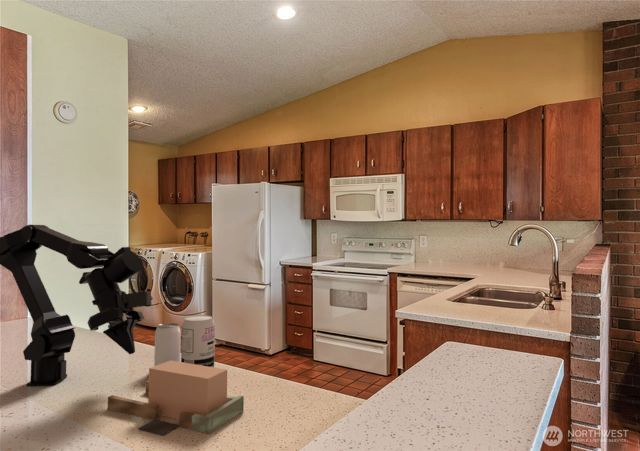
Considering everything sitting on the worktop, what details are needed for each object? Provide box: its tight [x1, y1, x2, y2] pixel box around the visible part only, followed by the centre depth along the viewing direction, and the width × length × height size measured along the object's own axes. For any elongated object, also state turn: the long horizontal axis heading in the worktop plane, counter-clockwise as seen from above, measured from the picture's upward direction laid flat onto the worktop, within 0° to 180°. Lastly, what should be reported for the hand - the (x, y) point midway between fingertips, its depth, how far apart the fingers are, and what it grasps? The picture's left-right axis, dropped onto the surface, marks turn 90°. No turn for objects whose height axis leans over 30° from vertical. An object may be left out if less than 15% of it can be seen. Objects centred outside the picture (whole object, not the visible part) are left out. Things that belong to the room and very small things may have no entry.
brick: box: [147, 360, 228, 420], centre depth 84 cm, size 15×6×9 cm, turn 66°
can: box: [153, 322, 182, 367], centre depth 111 cm, size 6×6×12 cm
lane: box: [107, 379, 245, 436], centre depth 86 cm, size 26×19×3 cm
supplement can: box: [180, 315, 216, 368], centre depth 106 cm, size 8×8×15 cm
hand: (132, 353), depth 95 cm, fingers closed
